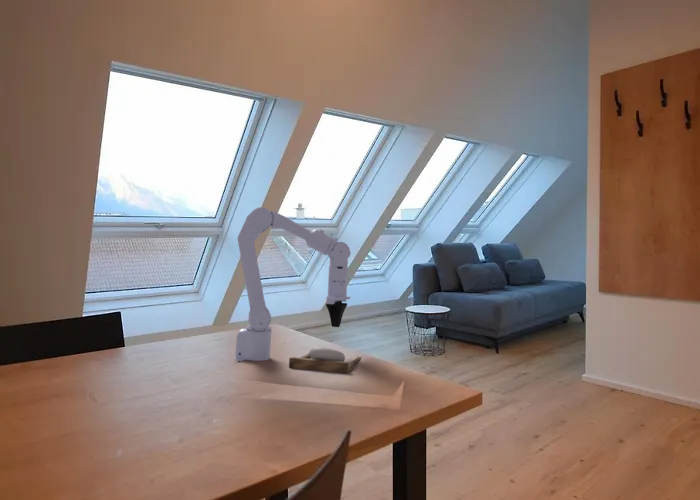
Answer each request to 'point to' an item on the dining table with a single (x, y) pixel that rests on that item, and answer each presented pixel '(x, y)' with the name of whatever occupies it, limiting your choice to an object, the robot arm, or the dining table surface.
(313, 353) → the donut
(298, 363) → the guide track
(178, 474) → the dining table surface
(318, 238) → the robot arm
